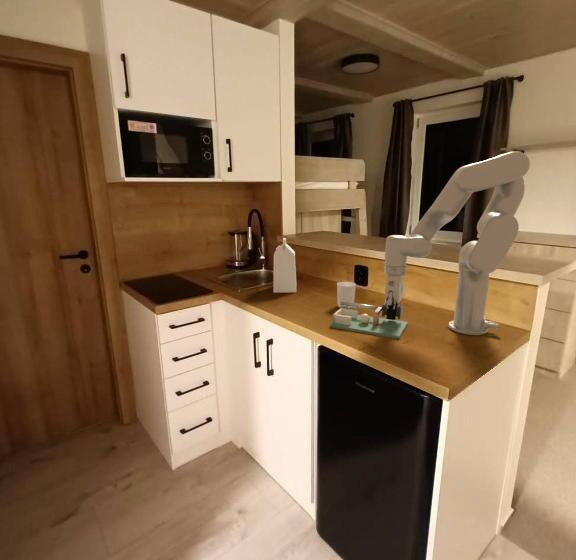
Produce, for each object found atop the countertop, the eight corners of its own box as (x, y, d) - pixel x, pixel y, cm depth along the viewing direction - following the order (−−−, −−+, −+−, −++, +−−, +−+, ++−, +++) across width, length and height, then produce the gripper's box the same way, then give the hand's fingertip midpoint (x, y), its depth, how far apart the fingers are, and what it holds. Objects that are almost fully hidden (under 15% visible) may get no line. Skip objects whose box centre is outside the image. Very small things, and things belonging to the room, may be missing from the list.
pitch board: (407, 324, 134) (408, 313, 133) (399, 339, 121) (400, 326, 120) (343, 314, 146) (343, 304, 144) (330, 327, 133) (330, 315, 132)
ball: (370, 322, 134) (371, 313, 133) (368, 325, 131) (368, 316, 130) (361, 320, 136) (361, 311, 135) (358, 323, 133) (358, 314, 132)
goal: (357, 317, 139) (358, 310, 138) (350, 325, 131) (350, 317, 131) (340, 315, 142) (340, 307, 141) (332, 322, 135) (332, 314, 134)
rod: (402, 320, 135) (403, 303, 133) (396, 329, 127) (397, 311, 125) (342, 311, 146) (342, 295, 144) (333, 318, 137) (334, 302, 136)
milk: (296, 292, 178) (296, 240, 172) (273, 292, 179) (272, 240, 172) (296, 286, 190) (296, 237, 184) (274, 286, 190) (273, 237, 184)
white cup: (340, 309, 152) (341, 287, 149) (333, 304, 159) (334, 282, 157) (357, 308, 154) (358, 285, 151) (350, 302, 161) (350, 281, 159)
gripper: (401, 275, 121) (397, 326, 125) (409, 266, 135) (406, 312, 140) (378, 273, 124) (376, 323, 129) (389, 264, 138) (387, 309, 143)
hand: (392, 317), depth 134 cm, fingers closed on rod, 3 cm apart
